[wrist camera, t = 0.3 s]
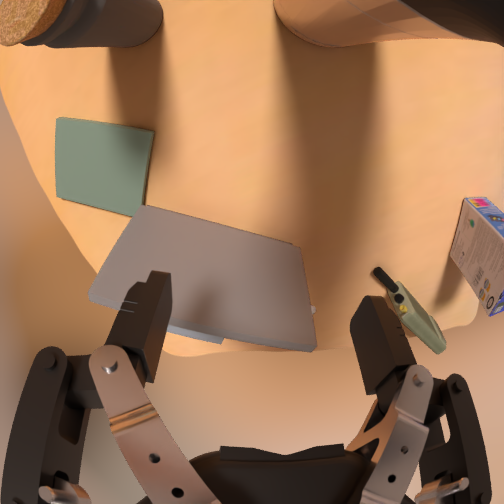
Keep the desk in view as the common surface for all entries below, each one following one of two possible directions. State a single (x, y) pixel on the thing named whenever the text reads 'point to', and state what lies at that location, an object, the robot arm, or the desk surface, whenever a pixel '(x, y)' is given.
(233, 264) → the case
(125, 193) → the mat
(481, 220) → the ink cartridge box
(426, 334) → the handheld radio
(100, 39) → the bottle
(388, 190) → the desk surface
